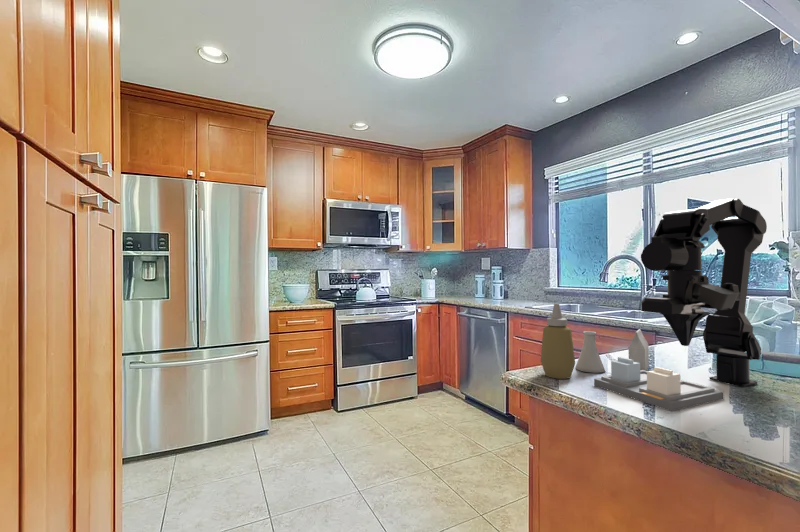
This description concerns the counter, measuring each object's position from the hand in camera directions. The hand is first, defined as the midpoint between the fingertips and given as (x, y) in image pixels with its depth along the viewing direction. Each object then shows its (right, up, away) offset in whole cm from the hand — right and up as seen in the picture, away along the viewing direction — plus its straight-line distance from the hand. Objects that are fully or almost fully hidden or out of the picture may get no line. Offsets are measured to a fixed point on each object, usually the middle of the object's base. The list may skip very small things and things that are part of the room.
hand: (685, 345), depth 78 cm
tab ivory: (-6, -9, -3) cm, 11 cm away
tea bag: (+4, -11, +22) cm, 25 cm away
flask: (-9, -11, +21) cm, 25 cm away
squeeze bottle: (-20, -11, +16) cm, 28 cm away
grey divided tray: (-4, -11, +3) cm, 12 cm away
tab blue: (-9, -9, +6) cm, 14 cm away
